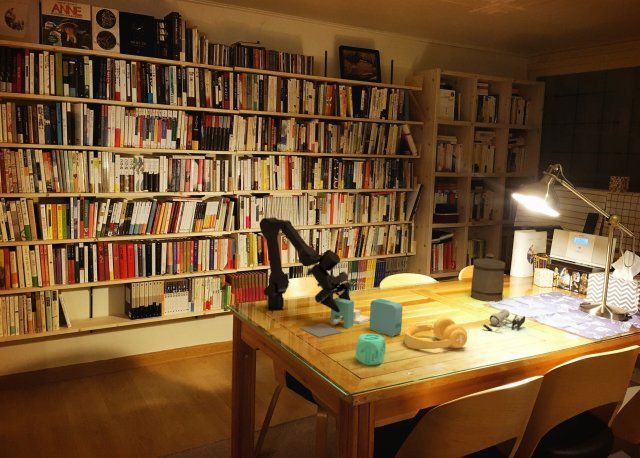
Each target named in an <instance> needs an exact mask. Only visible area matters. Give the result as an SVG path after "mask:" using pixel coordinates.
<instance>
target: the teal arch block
mask: <svg viewBox="0 0 640 458" xmlns="http://www.w3.org/2000/svg"><path fill="white" fill-rule="evenodd" d="M333 299H334V301H335V303H336V304H337V306H338V308H339V310H340V312H338V313H337V312H336V311H334V310H332V309H331V308H330V325H331V326H332V325H333V326H336V325H338V324H340V323H341V321H340V322H338V323H337V324H333V320H334V319H339V318H340V316H342V317H344V320H343V328H345V329H349V328H351V327H354V323H353V313H354V309H355V307H354V306H355V301H353V300H351V299H350V300H351V301H350V300H345V299H340V298H338V297H335V298H333Z"/></svg>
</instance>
